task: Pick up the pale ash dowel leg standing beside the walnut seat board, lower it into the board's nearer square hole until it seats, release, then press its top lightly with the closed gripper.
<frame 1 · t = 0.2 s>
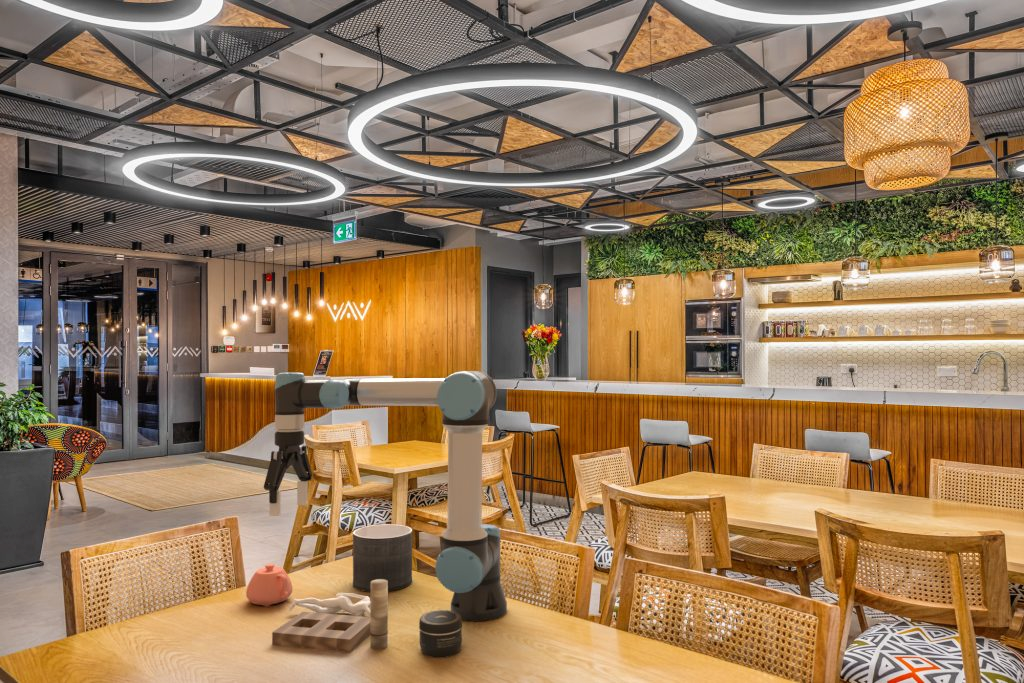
hand: (289, 510, 185), 28 cm above the table, fingers open, 13 cm apart
leg: (378, 645, 164), on the table
jar: (440, 651, 162), on the table
planter: (382, 583, 211), on the table
board: (325, 637, 169), on the table
figurine: (337, 616, 184), on the table
sugar bowl: (271, 602, 195), on the table
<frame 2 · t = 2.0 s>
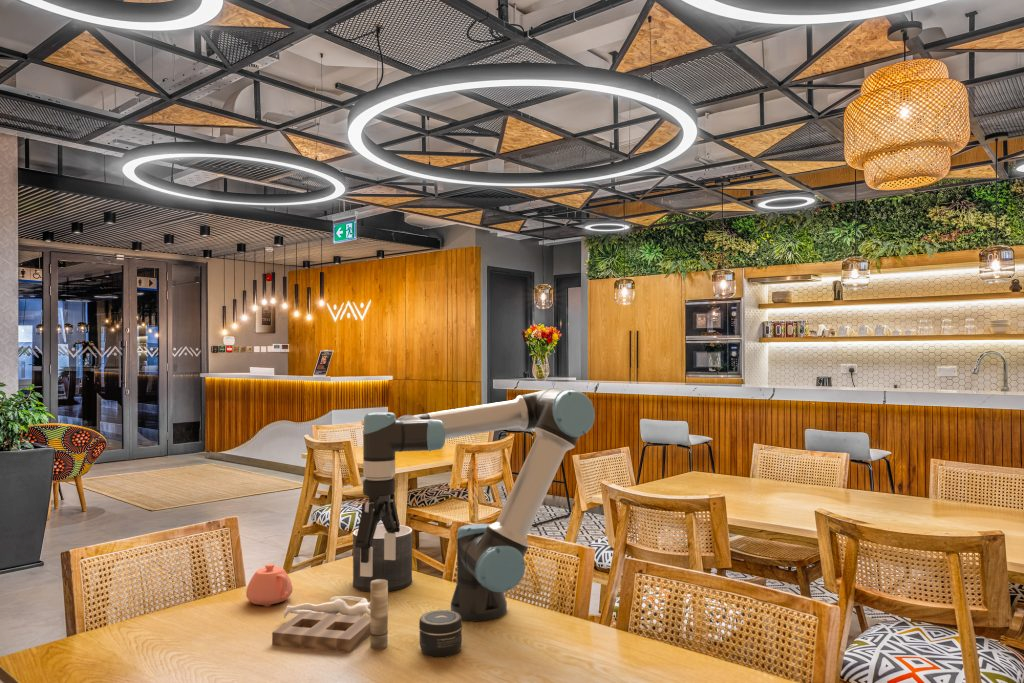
hand: (378, 567, 165), 18 cm above the table, fingers open, 13 cm apart
figurine: (334, 620, 181), on the table
everything else where it was.
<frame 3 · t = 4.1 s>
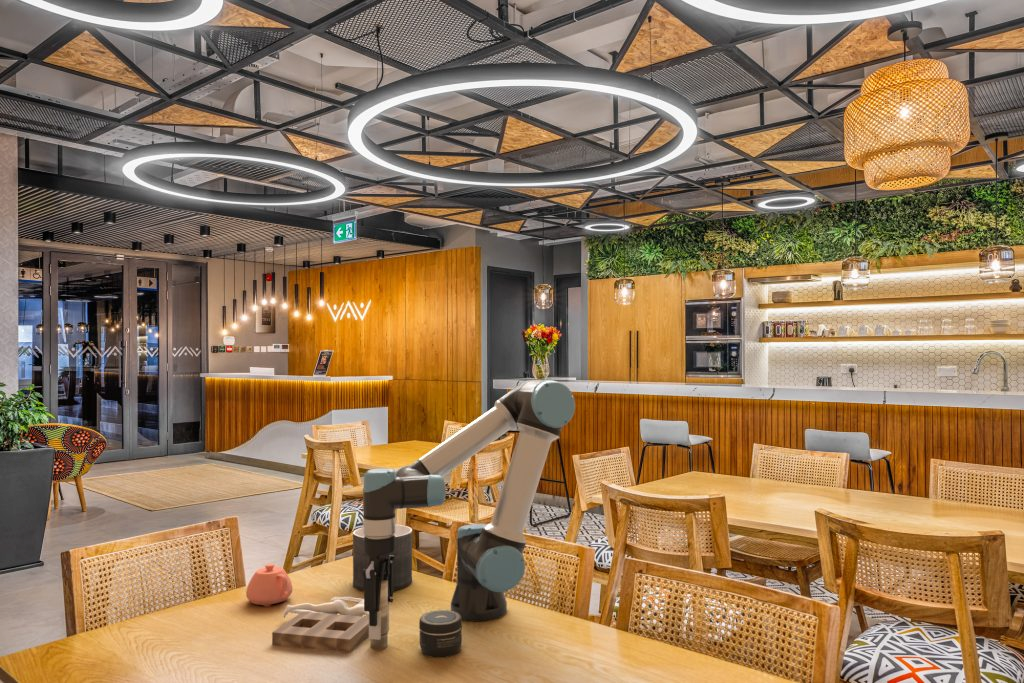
hand: (379, 634, 164), 3 cm above the table, fingers closed on leg, 4 cm apart
leg: (378, 645, 164), on the table, touching gripper
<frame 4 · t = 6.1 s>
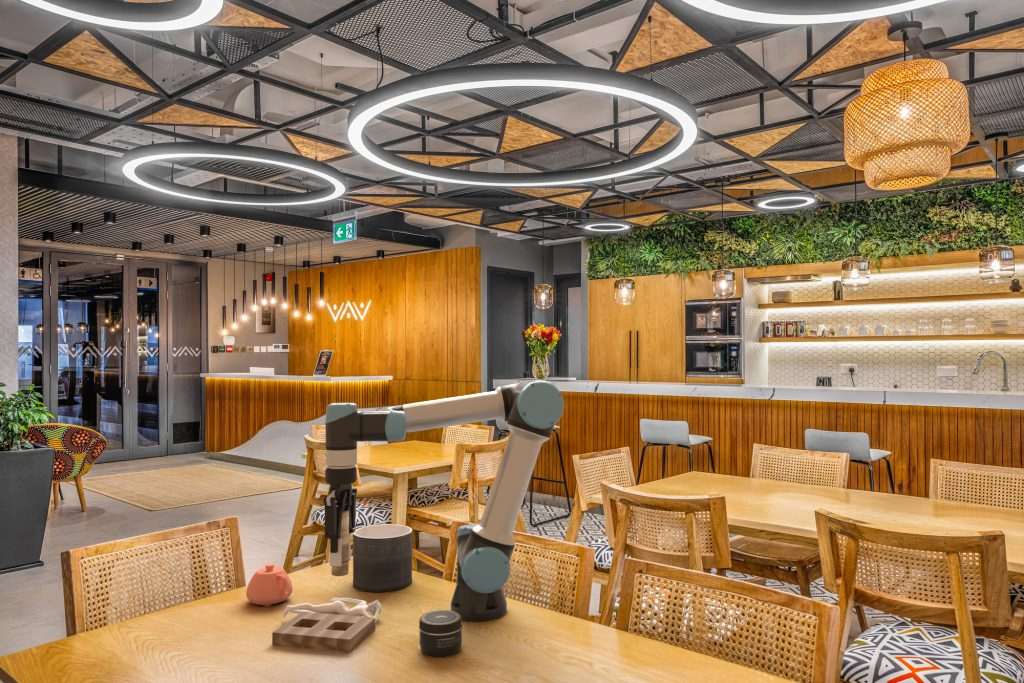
hand: (340, 562, 169), 18 cm above the table, fingers closed on leg, 4 cm apart
leg: (340, 573, 169), point 16 cm above the table, touching gripper
figurine: (332, 622, 180), on the table, touching board
everything else where it was.
when the fingers open (4 cm above the table, at t = 8.2 s): leg drops 1 cm, resting in board.
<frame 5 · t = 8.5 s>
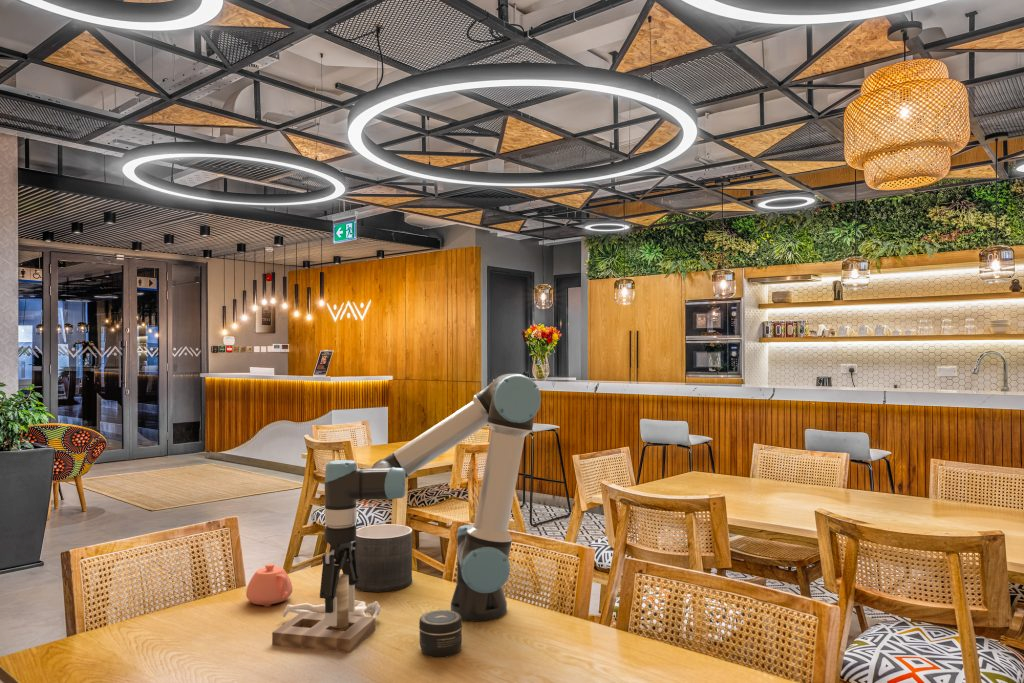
hand: (340, 618, 169), 5 cm above the table, fingers open, 9 cm apart
leg: (340, 638, 168), resting in board
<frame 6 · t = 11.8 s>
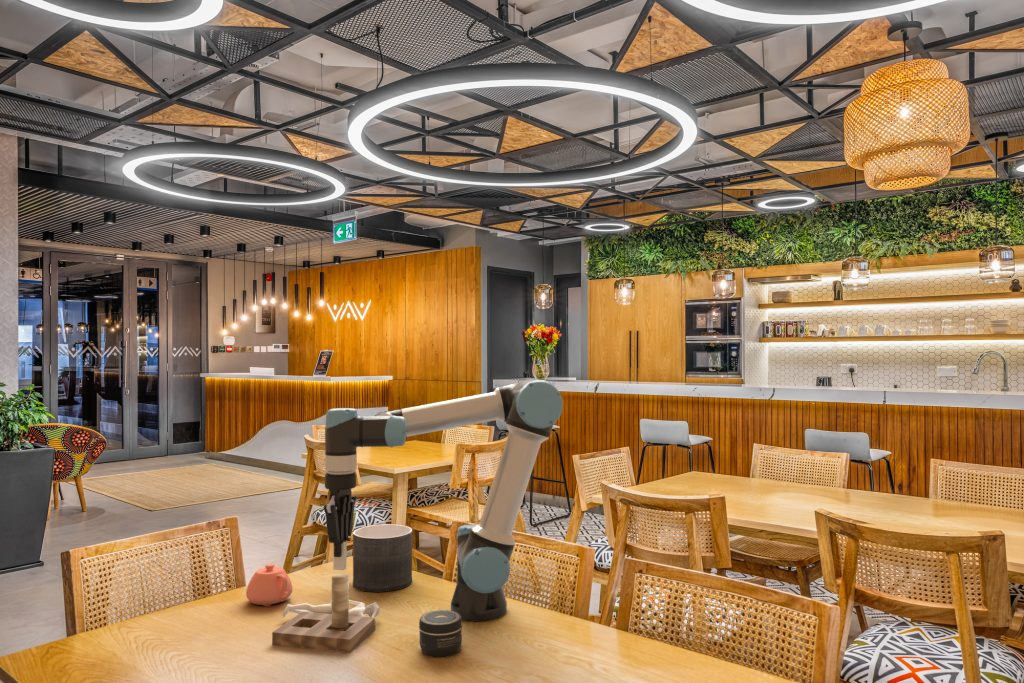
hand: (339, 569, 169), 17 cm above the table, fingers closed
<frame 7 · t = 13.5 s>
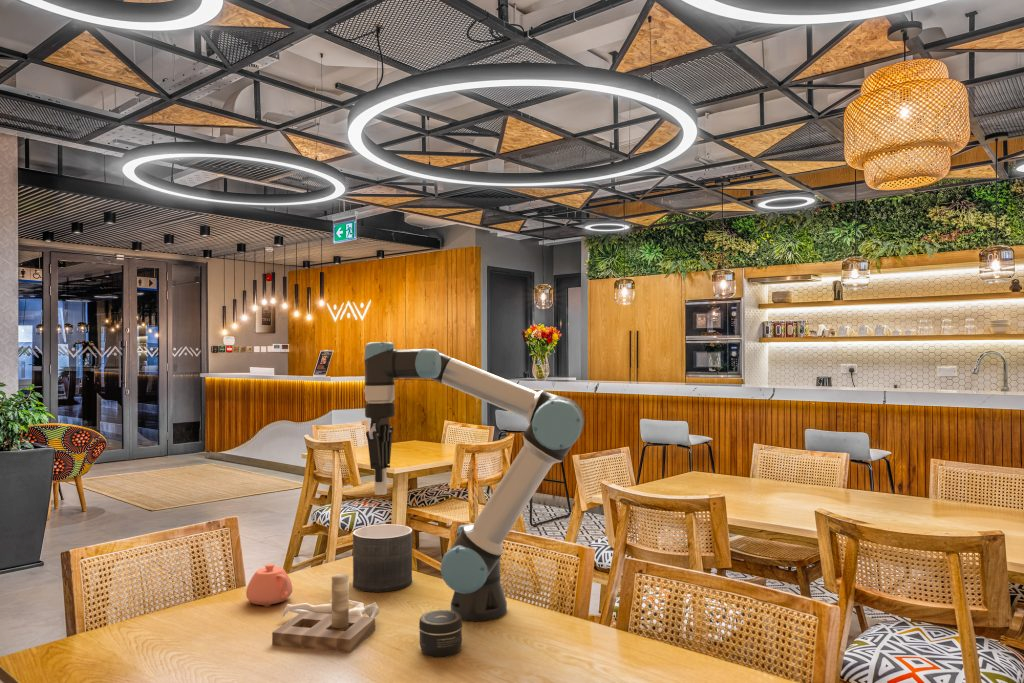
hand: (380, 494, 178), 33 cm above the table, fingers closed
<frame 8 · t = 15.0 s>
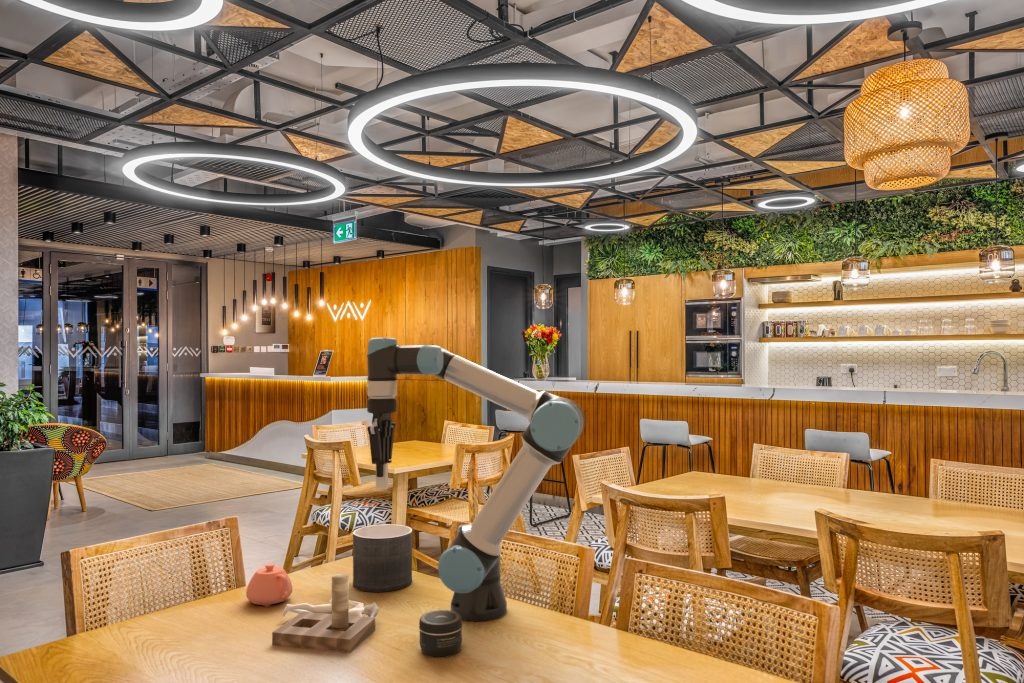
hand: (381, 489, 179), 34 cm above the table, fingers closed
nothing on the table moved.
at the end: leg 0.0 cm from the target spot on the board, point 0.0 cm above the board's base; leg tilted 0°; the gripper is holding nothing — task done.
